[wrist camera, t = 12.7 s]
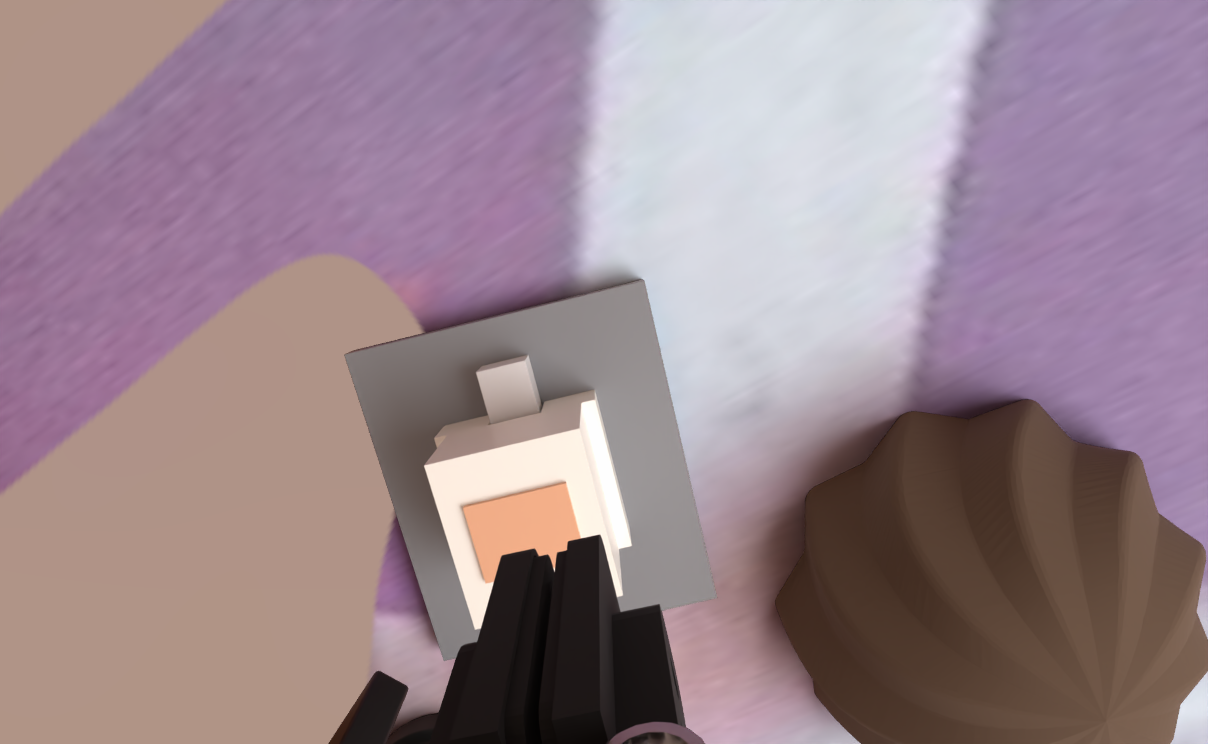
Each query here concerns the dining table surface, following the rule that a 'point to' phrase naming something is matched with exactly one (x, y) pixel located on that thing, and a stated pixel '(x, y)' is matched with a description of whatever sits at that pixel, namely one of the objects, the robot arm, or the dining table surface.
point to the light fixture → (382, 716)
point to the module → (526, 490)
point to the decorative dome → (996, 589)
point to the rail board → (563, 370)
